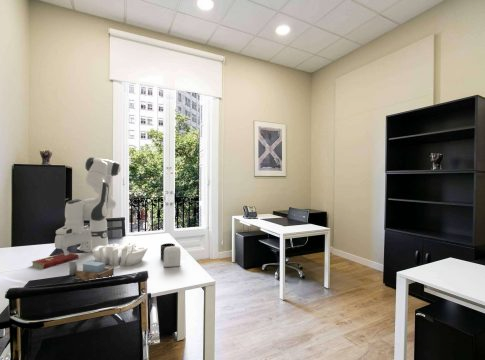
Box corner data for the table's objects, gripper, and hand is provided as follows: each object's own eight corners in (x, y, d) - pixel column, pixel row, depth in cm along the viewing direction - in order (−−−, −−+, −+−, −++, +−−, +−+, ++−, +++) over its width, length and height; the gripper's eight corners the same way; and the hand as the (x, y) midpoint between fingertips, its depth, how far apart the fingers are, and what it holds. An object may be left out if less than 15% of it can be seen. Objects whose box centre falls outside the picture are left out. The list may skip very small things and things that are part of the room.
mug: (172, 261, 165) (172, 247, 165) (157, 259, 169) (157, 246, 169) (180, 257, 174) (180, 244, 174) (166, 255, 178) (166, 242, 178)
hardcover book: (78, 260, 167) (78, 254, 167) (43, 271, 147) (43, 264, 147) (67, 257, 172) (67, 251, 171) (31, 267, 152) (31, 261, 152)
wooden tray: (113, 276, 140) (113, 268, 140) (99, 282, 131) (99, 274, 131) (90, 272, 144) (90, 265, 144) (75, 279, 135) (75, 270, 135)
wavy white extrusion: (84, 265, 156) (84, 248, 156) (100, 257, 173) (100, 242, 173) (139, 266, 155) (139, 249, 155) (150, 258, 171) (150, 243, 171)
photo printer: (180, 264, 160) (180, 245, 160) (180, 266, 156) (180, 246, 156) (163, 265, 158) (163, 245, 158) (163, 267, 154) (163, 247, 153)
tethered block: (104, 276, 139) (104, 263, 139) (97, 279, 134) (97, 266, 134) (74, 271, 145) (74, 259, 145) (66, 275, 140) (66, 261, 140)
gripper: (85, 224, 153) (86, 247, 152) (52, 231, 133) (52, 257, 133) (94, 225, 151) (94, 248, 151) (61, 232, 131) (61, 258, 131)
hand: (74, 252), depth 142 cm, fingers open, 8 cm apart
